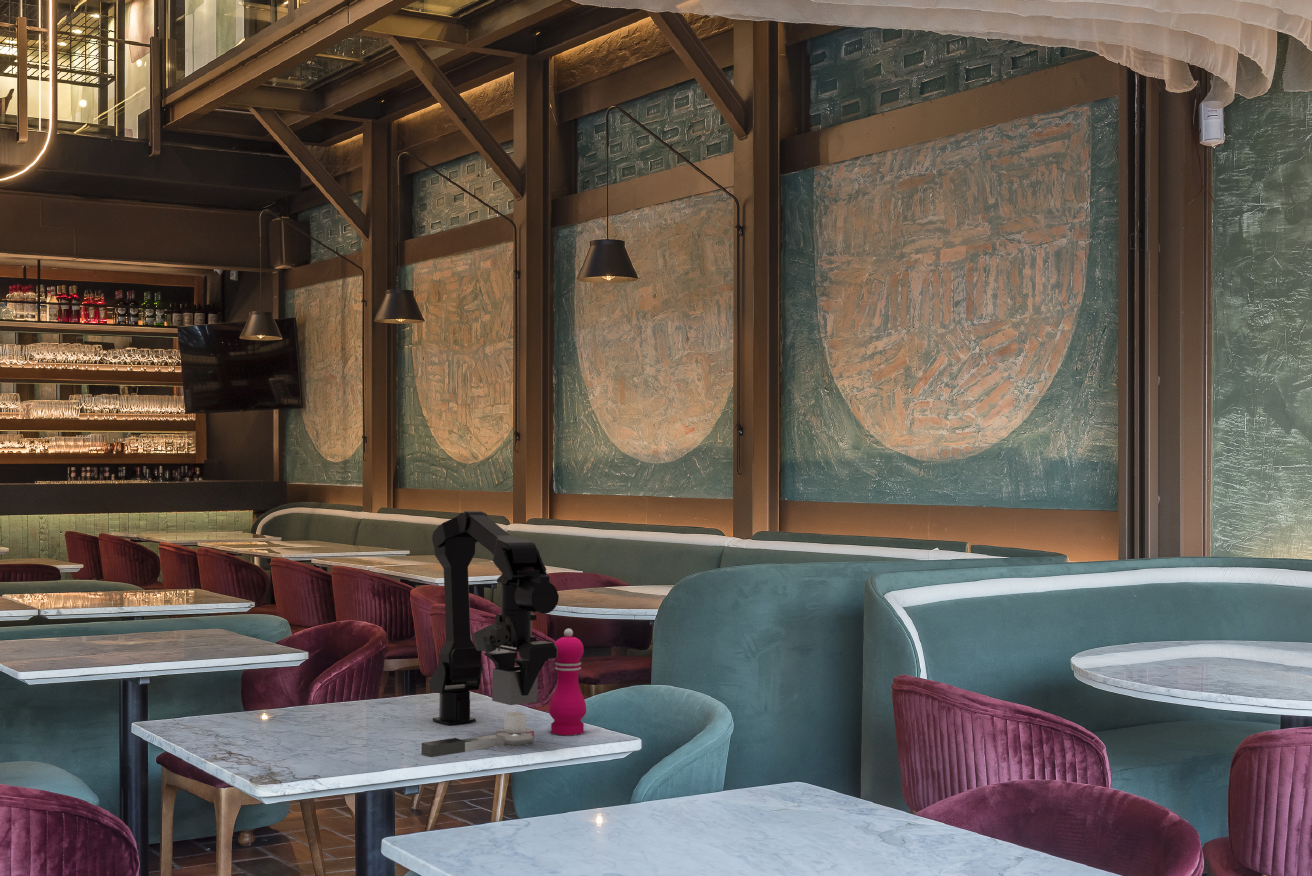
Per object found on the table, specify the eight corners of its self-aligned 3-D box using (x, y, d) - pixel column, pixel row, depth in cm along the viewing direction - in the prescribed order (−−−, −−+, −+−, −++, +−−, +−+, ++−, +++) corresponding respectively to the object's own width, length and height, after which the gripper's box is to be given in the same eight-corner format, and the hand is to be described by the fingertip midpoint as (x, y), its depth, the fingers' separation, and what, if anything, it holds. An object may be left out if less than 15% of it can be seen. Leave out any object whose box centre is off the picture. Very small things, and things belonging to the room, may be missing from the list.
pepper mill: (588, 729, 249) (589, 626, 250) (583, 736, 242) (584, 630, 243) (552, 728, 250) (553, 626, 251) (545, 735, 243) (546, 630, 243)
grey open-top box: (492, 700, 237) (492, 668, 237) (518, 697, 241) (519, 665, 241) (510, 705, 233) (511, 672, 233) (537, 701, 237) (537, 669, 237)
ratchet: (415, 752, 227) (416, 723, 227) (519, 736, 241) (520, 709, 242) (436, 759, 221) (437, 728, 222) (541, 742, 236) (541, 714, 236)
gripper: (452, 607, 239) (451, 690, 239) (509, 616, 225) (508, 704, 225) (501, 604, 247) (500, 685, 246) (559, 612, 232) (558, 698, 232)
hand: (515, 693), depth 237 cm, fingers closed on grey open-top box, 6 cm apart
